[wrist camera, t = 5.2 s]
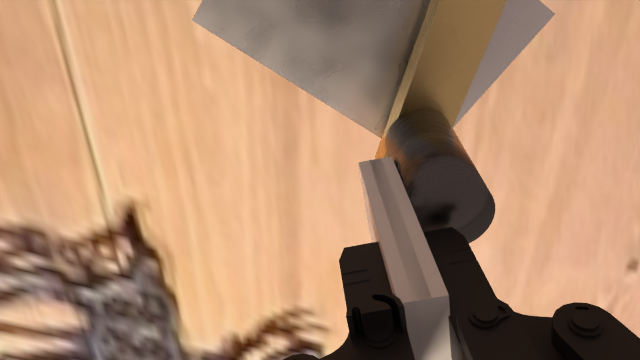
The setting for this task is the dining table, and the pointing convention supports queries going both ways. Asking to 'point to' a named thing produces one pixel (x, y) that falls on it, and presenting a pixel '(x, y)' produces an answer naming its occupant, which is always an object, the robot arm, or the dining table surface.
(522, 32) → the grey block on baseplate
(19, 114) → the dining table surface
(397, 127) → the lever
